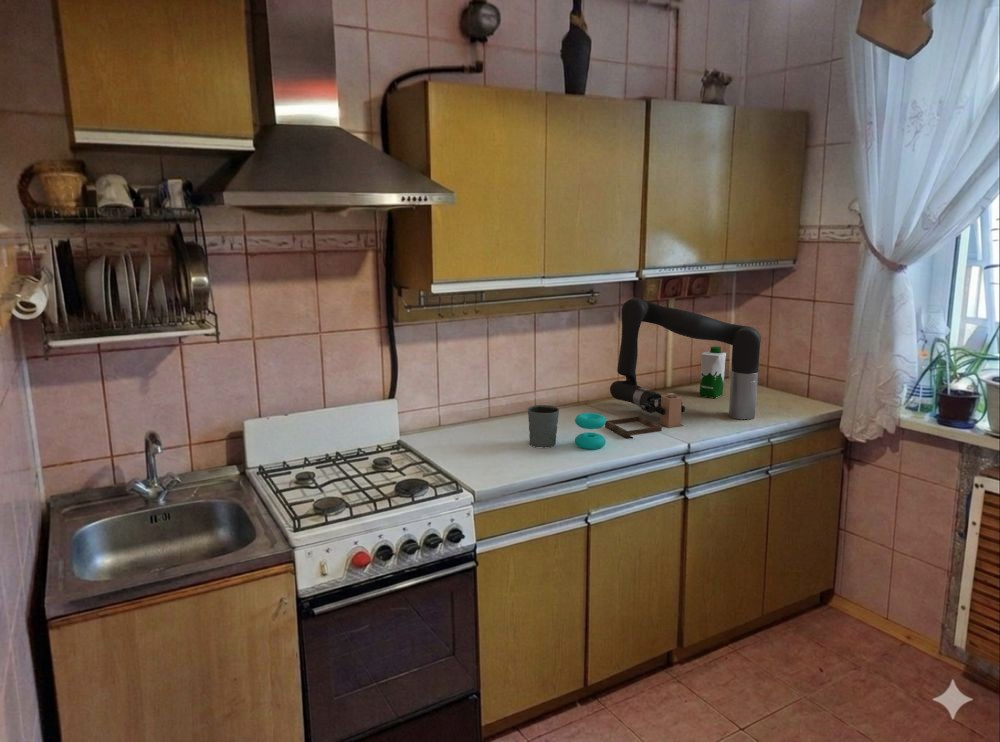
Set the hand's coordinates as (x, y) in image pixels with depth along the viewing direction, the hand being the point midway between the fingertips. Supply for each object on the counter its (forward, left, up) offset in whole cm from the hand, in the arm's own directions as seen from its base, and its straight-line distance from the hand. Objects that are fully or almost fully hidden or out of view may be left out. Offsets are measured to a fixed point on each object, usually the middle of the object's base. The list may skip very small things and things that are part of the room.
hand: (674, 410), depth 243 cm
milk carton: (-51, +11, -7) cm, 52 cm away
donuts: (+26, -24, -7) cm, 37 cm away
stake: (-2, -1, -7) cm, 7 cm away
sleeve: (-2, -1, -6) cm, 6 cm away
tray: (+6, -13, -7) cm, 16 cm away
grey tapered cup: (+29, -39, -7) cm, 50 cm away
